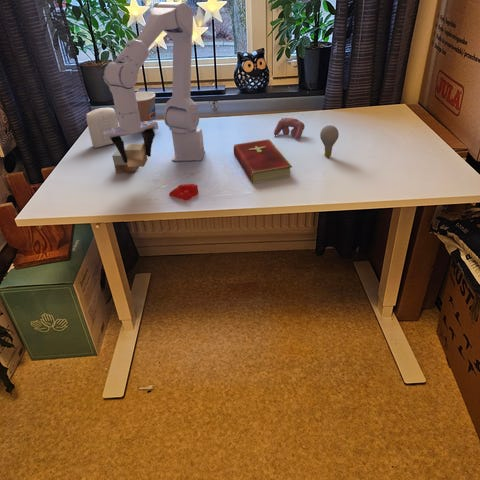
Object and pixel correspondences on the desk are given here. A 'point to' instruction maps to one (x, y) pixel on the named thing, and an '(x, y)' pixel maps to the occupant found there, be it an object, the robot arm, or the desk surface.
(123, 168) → the walnut base block
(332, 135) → the light bulb
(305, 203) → the desk surface
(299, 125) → the brown arched piece
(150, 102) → the coffee cup
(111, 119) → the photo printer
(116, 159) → the slate-grey top block
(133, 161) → the birch block
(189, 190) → the bracket
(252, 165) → the hardcover book
